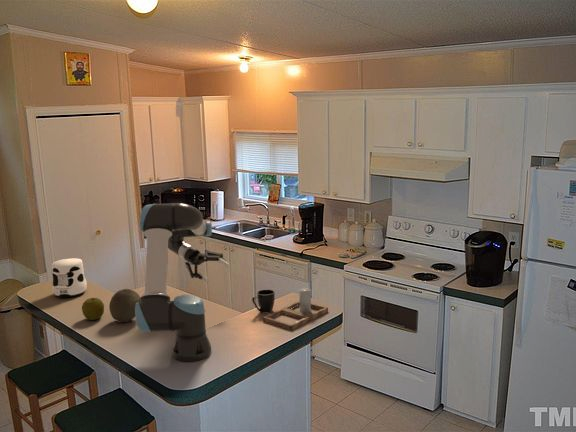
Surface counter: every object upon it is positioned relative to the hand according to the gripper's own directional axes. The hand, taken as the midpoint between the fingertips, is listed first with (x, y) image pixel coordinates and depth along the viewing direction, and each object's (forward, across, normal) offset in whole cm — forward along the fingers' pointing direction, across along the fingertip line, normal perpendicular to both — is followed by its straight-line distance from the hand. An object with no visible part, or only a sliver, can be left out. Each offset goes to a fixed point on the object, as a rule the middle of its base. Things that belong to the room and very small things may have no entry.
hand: (218, 272), depth 252 cm
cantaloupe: (-20, +41, -14) cm, 48 cm away
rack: (+39, -12, -12) cm, 42 cm away
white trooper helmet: (-75, +43, -33) cm, 92 cm away
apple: (-34, +50, -16) cm, 63 cm away
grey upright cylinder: (+39, -19, -14) cm, 46 cm away
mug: (+23, -6, -16) cm, 29 cm away
